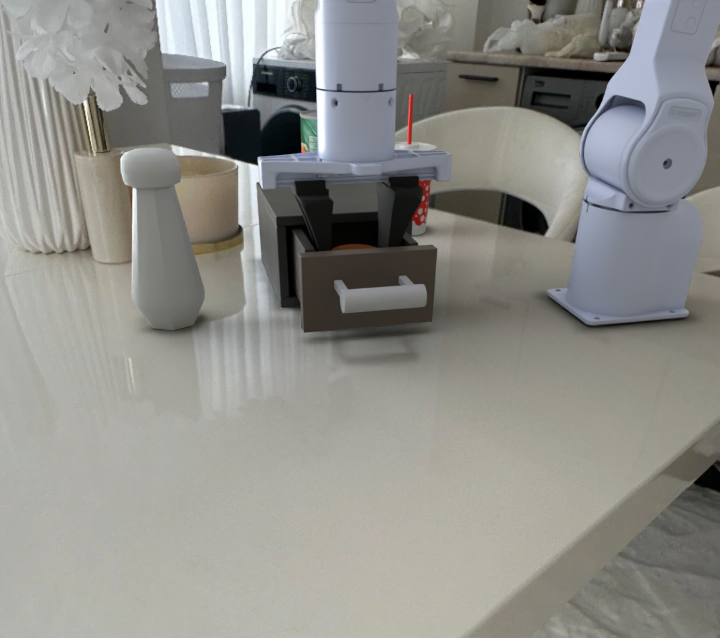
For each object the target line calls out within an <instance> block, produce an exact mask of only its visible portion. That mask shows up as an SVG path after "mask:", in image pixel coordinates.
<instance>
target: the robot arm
mask: <svg viewBox="0 0 720 638" xmlns="http://www.w3.org/2000/svg"><path fill="white" fill-rule="evenodd" d="M397 3H398V2H397V0H317V7H316V9H315V10H314V53H315V54H314V55H315V59H314V60H315V87H316V89H315V90H316V92H315V93H316V109H317V136H318V152H308V153H301V152H298V153H290V154H281V155H268V156H258V157H257V168H258V170H257V171H258V182H259V184H260V186H261V188H262V189H263V190H265V189H276V188H277V187H285V186H290V188H291V191H292V193H293V195H294V197H295V199H296V202H297V204H298V206H299V208H300V210H301V213H302V215H303V217H304V220H305V222H306V225H307V227H308V230H309V233H310V236H311V239H312V242H313V245H314V249H315V252H320V251H332V247H331V236H332V215H333V203H334V202H333V200H332V199H331V198H330V197H329V189H327V188H326V185H330V184H352V183H375V182H376V190H377V204H378V227H379V228H378V246H377V248H385V247H400V244H401V241H402V239H403V236H404V234H405V231H406V229H407V227H408V225H409V223H410V221H411V219H412V217H413V215H414V213H415V212H416V210H417V208H418V207H419V205H420V204H421V201H422V197H423V188H422V187H421V186H419V181H420V180H431V181H435V182H439V183H440V182H441V183H442V182H443V183H444V182H450V181H451V177H452V163H453V154H452V153H450V152H448V151H446V150H445V149H437V150H395V142H396V121H397V120H396V117H397V85H398V84H397V83H398V82H397V81H398V80H397V78H398V49H399V48H398V47H399V20H400V19H399V17H400V16H399V11H398V8H397ZM642 6H643V7H642V10H641V14H640V17H639V20H638V24H637V28H636V31H635V34H634V38H633V42H632V44H631V45H632V46H631V47H630V50H629V55H628V57H627V58H626V60H625V61H624V62H623V63H622V65H621V66H620V67H619V68H618V70H616V72H615V73H614V75H612V77H611V78H610V80H609V81H608V83H606V84H607V85H606V89H605V92H604V95H603V98H602V101H601V103H600V105H599V107H598V109H597V110H596V112H595V113H594V114H593V116H592V117H591V118H590V120H589V121H588V122H587V124H586V126H585V127H584V129H583V131H582V134H581V138H580V141H579V147H578V155H579V162H580V164H581V167H582V170H583V171H584V173H585V174H586V175H587V177H588V178H587V183H586V186H585V188H584V191H583V198H582V202H581V207H580V214H579V219H578V226H577V231H576V236H575V242H574V248H573V254H572V259H571V266H570V271H569V277H568V283H567V287H561V288H550V289H547V291H546V295H547V296H548V297H549V298H551V299H552V300H553V301H554V302H555V303H557V304H559V305H560V306H561V307H562V308H564V309H565V310H566V311H568V312H569V313H571V315H573V316H574V317H576V318H577V319H579V320H580V321H581V322H583V323H584V324H586V325H587V326H603V325H614V324H627V323H637V322H647V321H649V322H650V321H658V320H669V319H670V320H671V319H681V318H682V319H683V318H687V317H689V314H690V311H689V310H688V309H687V308H685V305H686V301H687V297H688V293H689V290H690V286H691V283H692V279H693V275H694V272H695V268H696V265H697V260H698V257H699V253H700V250H701V247H702V241H703V234H704V233H703V232H704V231H703V230H704V229H703V219H702V215H701V212H700V209H698V207H697V206H696V205H695V204H694V203H693V202H692V201H690V200H688V199H684V197H685V196H686V195H687V194H689V192H691V190H692V189H693V188H694V187H695V186H696V185H697V183H698V181H699V180H700V178H701V176H702V174H703V172H704V170H705V167H706V164H707V159H708V136H707V135H708V126H709V121H710V117H711V115H712V112H713V109H714V106H715V100H714V94H713V92H712V88H711V87H710V86H711V85H710V83H709V80H708V76H707V73H706V64H707V61H708V59H709V57H710V56H709V55H710V53H711V50H712V47H713V44H714V40H715V38H716V35H717V32H718V29H719V26H720V0H644V3H643V5H642ZM334 174H341V175H338V176H334Z"/></svg>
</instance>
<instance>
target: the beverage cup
mask: <svg viewBox="0 0 720 638" xmlns="http://www.w3.org/2000/svg"><path fill="white" fill-rule="evenodd" d="M414 96H415V95H414V93H409V94H408V115H407V136H406V141H395V150H438V146H437V145H435V144H432V143H427V142H420V141H419V142H418V141H417V142H416V141H412V140H413V120H414V119H413V118H414V100H415V99H414V98H415V97H414ZM419 186H421V187H422V188H423V197H422V201H421V204H420V205H419V207H418V208H417V210H416V212H415V213H414V215H413V217H412V237H413V236H420V235H423V234H424V233H426V228H427V220H428V219H427V218H428V211H429V203H430V196H431V195H430V194H431V186H432V180H420V181H419Z"/></svg>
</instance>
